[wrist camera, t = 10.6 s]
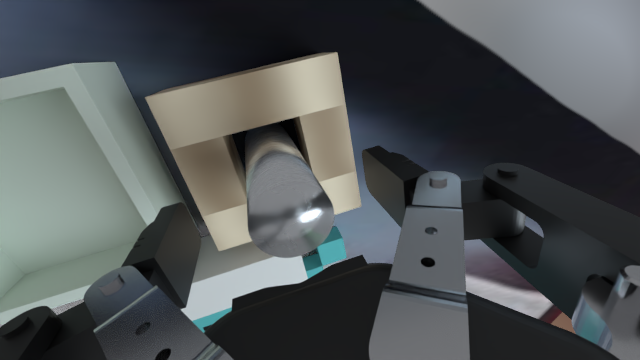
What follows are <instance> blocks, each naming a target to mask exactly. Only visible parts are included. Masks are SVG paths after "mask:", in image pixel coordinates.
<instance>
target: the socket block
mask: <svg viewBox="0 0 640 360" xmlns="http://www.w3.org/2000/svg"><path fill="white" fill-rule="evenodd" d="M145 99H146V101H147V103H148V105H149V107H150V109H151V111H152V113H153V115H154V117H155V119H156V121H157V124H158V126H159V128H160V130H161V132H162V134H163V136H164V138H165V140H166V142H167V144H168V146H169V149H170V151H171V153H172V155H173V157H174V159H175V161H176V163H177V165H178V167H179V169H180V171H181V173H182V176H183V178H184V180H185V182H186V184H187V186H188V188H189V190H190V192H191V194H192V196H193V198H194V201H195V203H196V205H197V207H198V209H199V211H200V213H201V215H202V217H203V219H204V221H205V223H206V225H207V228H208V230H209V232H210V234H211V236H212V238H213V240H214V242H215V244H216V246H217V248H218V250H219V251H222V250H226V249H229V248H232V247H235V246H238V245H241V244H245V243H248V242H251V241H252V239H251V237H250V235H249V231H248V220H247V191H246V173H245V170H244V167H243V164H242V162H241V159H240V156H239V153H238V151H237V148H236V145H235V142H234V139H233V137H232V134H233V133H237V132H241V131H245V130H249V129H253V128H256V127H260V126H264V125H268V124H272V123H275V122H279V121H283V120H287V119H291V118H293V122H294V126H295V130H296V134H297V138H298V142H299V146H300V150H301V154H302V156H303V158H304V160H305V161H306V163H307V164H308V166H309V167H310V169H311V171H312V172H313V174H314V175H315V177H316V178H317V180H318V181H319V183H320V185H321V186H322V188H323V189H324V191H325V192H326V194H327V196H328V197H329V199H330V200H331V202H332V205H333V208H334V215H336V214H339V213H342V212H346V211H349V210H352V209H355V208H358V207H361V201H360V194H359V188H358V181H357V175H356V169H355V162H354V156H353V149H352V143H351V137H350V130H349V124H348V117H347V111H346V105H345V98H344V92H343V85H342V79H341V73H340V66H339V60H338V53H337V52H333V53H318V54H314V55H310V56H305V57H301V58H297V59H292V60H288V61H284V62H280V63H275V64H271V65H267V66H262V67H258V68H254V69H250V70H245V71H241V72H237V73H232V74H228V75H224V76H219V77H215V78H211V79H207V80H202V81H198V82H194V83H189V84H185V85H181V86H176V87H172V88H168V89H165V90H162V91H160V92H157V93H155V94H152V95H150V96H147V97H145Z"/></svg>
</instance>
